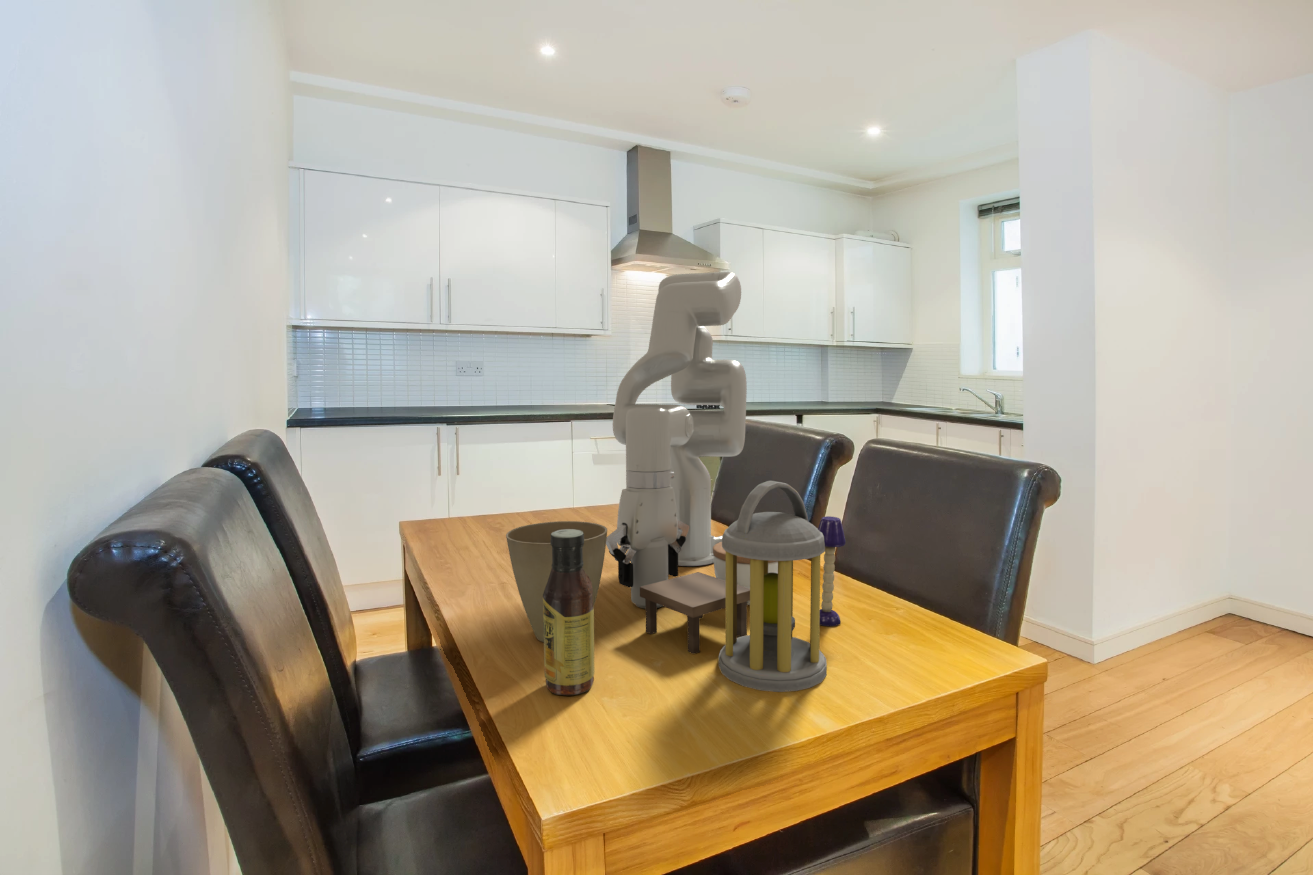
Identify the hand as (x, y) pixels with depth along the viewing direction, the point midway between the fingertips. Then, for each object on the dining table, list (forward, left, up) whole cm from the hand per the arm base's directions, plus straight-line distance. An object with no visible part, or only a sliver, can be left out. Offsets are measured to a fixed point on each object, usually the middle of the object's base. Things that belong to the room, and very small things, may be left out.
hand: (649, 579), depth 114 cm
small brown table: (+3, +15, -4) cm, 16 cm away
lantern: (+3, +30, -5) cm, 31 cm away
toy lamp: (-16, +25, -5) cm, 30 cm away
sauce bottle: (+27, +18, -5) cm, 32 cm away
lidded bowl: (-15, +9, -5) cm, 18 cm away
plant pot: (+19, +2, -5) cm, 19 cm away
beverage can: (0, 0, -5) cm, 5 cm away
